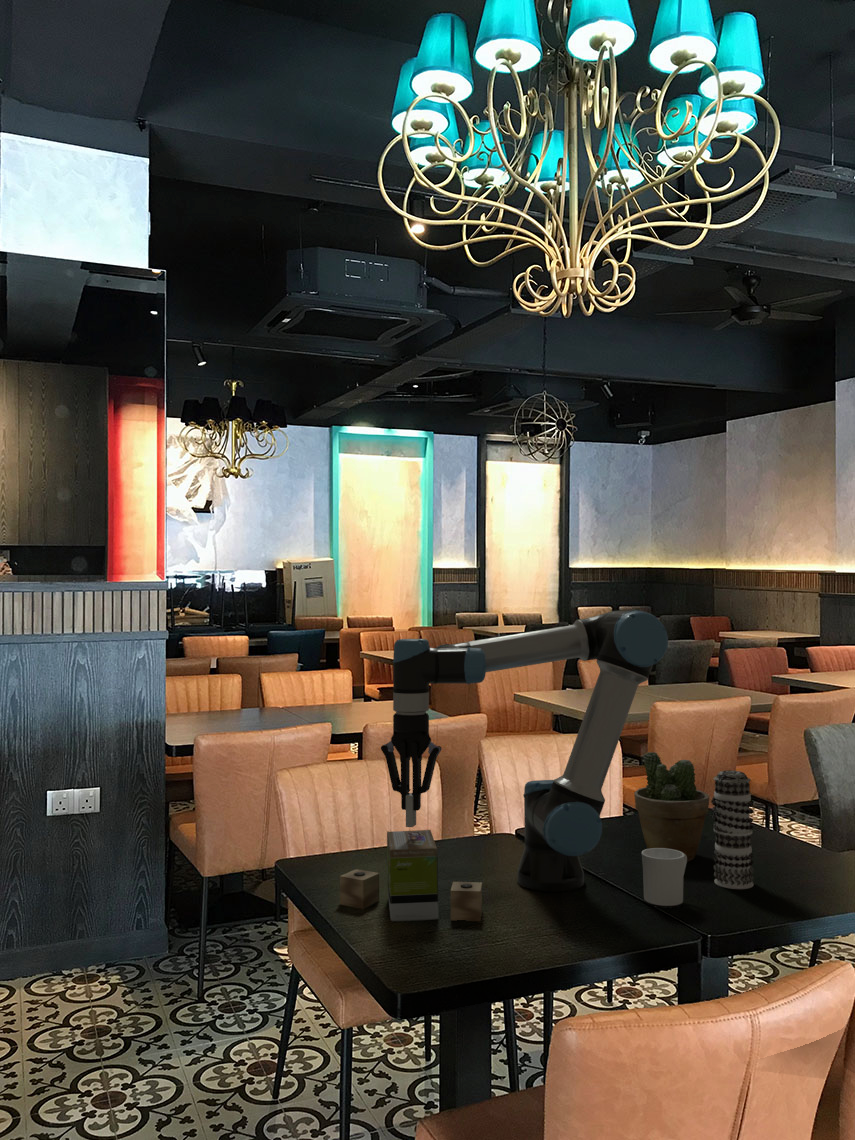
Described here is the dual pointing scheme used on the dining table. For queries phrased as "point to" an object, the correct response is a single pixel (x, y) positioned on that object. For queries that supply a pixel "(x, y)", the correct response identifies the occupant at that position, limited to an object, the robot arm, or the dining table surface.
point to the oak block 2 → (466, 901)
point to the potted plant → (671, 806)
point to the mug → (663, 876)
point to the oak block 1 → (359, 888)
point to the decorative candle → (732, 830)
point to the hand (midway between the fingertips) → (411, 825)
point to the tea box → (412, 875)
